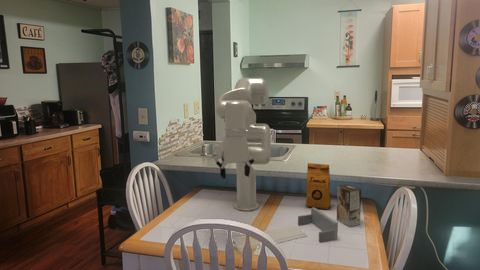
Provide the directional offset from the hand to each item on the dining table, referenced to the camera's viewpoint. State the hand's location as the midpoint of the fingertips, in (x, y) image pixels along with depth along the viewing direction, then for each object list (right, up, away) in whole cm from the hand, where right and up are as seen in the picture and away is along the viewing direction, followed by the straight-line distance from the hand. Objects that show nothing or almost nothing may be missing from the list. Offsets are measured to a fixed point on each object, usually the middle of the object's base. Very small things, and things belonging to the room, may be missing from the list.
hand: (235, 177), depth 142 cm
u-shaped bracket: (+33, -24, +11) cm, 43 cm away
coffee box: (+50, -23, +20) cm, 59 cm away
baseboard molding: (+14, -26, +4) cm, 30 cm away
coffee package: (+41, -20, +40) cm, 61 cm away
